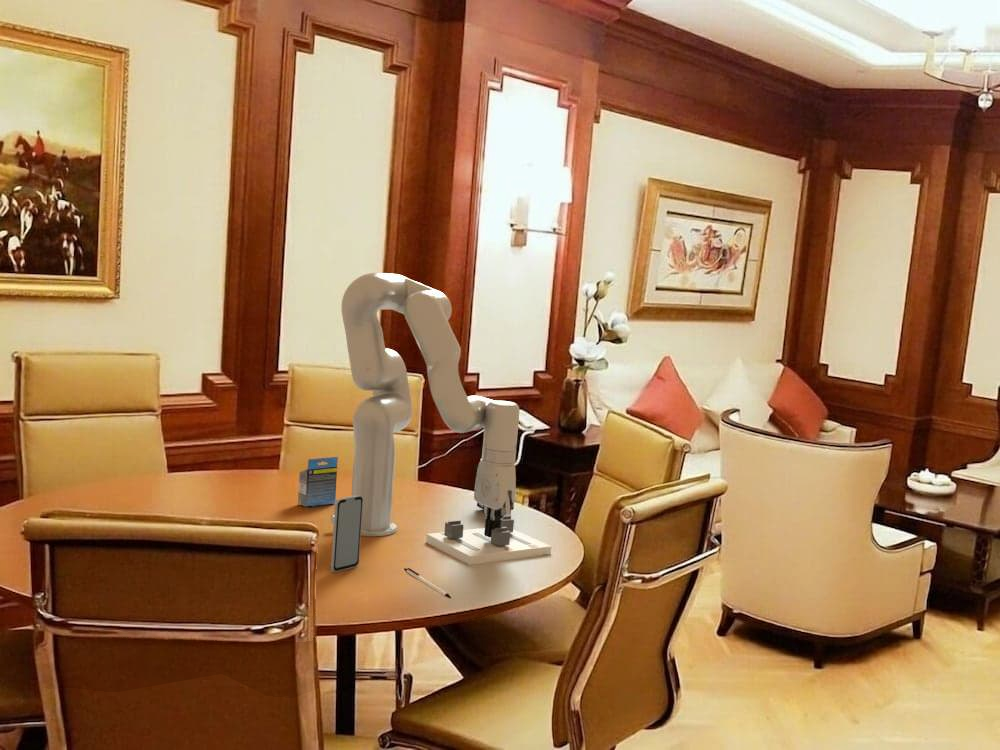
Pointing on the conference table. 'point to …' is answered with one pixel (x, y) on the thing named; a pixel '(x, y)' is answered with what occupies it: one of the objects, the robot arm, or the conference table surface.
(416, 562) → the conference table surface
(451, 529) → the tab left
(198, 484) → the conference table surface
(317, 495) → the label tape cartridge
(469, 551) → the switch panel
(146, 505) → the conference table surface
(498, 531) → the tab middle
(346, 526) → the smartphone
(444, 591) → the pen
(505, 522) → the tab right
